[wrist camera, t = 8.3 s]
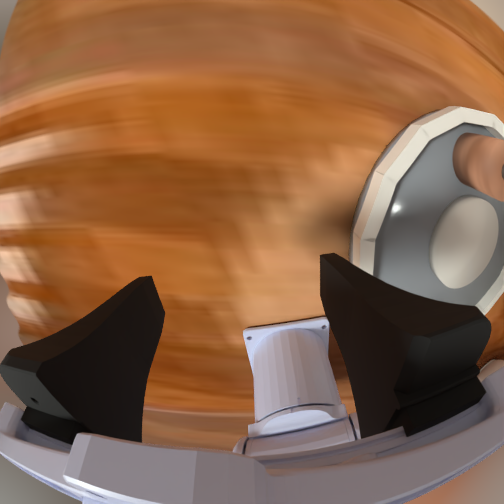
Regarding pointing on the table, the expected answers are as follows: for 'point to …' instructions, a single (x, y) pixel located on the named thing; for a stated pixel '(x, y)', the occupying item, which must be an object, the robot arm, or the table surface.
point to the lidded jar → (490, 368)
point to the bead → (480, 163)
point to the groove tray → (431, 215)
